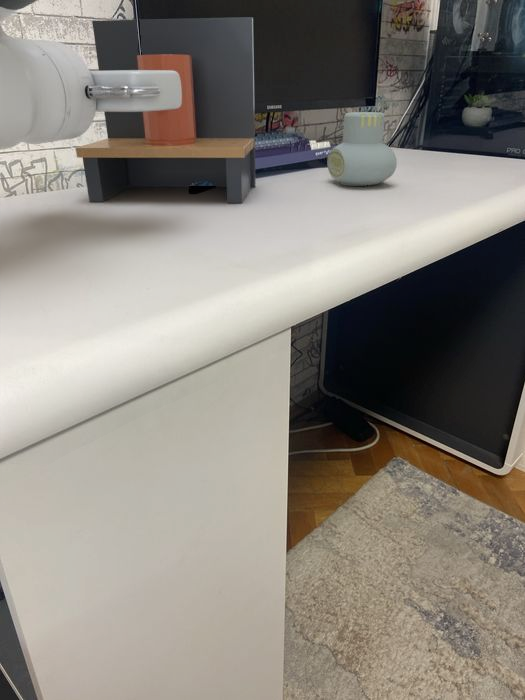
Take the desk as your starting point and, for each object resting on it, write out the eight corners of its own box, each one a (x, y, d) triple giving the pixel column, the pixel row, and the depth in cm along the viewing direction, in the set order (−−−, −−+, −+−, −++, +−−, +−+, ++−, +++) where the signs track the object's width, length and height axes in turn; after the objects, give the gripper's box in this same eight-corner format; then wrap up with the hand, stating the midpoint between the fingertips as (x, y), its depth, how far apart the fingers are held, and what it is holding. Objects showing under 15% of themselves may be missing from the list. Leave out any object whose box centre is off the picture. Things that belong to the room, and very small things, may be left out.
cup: (139, 145, 71) (129, 54, 66) (153, 140, 77) (145, 56, 72) (190, 145, 70) (184, 54, 65) (200, 139, 76) (195, 56, 71)
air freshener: (322, 178, 87) (325, 111, 82) (369, 176, 89) (374, 110, 84) (348, 191, 77) (353, 116, 73) (400, 188, 79) (408, 114, 75)
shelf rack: (84, 202, 72) (53, 11, 62) (116, 185, 84) (95, 21, 74) (245, 204, 70) (240, 6, 60) (255, 185, 82) (253, 18, 72)
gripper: (135, 52, 47) (206, 56, 59) (-38, 57, 54) (56, 60, 65) (144, 129, 50) (209, 119, 61) (-22, 125, 57) (65, 116, 68)
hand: (129, 89), depth 63 cm, fingers open, 8 cm apart
